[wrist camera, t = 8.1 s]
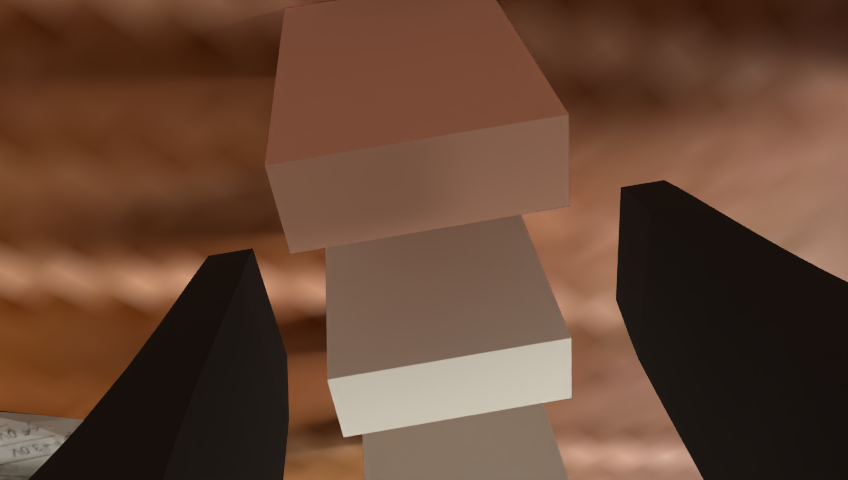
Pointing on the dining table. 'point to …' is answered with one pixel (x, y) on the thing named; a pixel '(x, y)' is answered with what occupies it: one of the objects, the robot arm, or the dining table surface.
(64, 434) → the packaged product
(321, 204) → the brown rectangular block
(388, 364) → the cream white flat block
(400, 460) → the domino
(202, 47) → the dining table surface
